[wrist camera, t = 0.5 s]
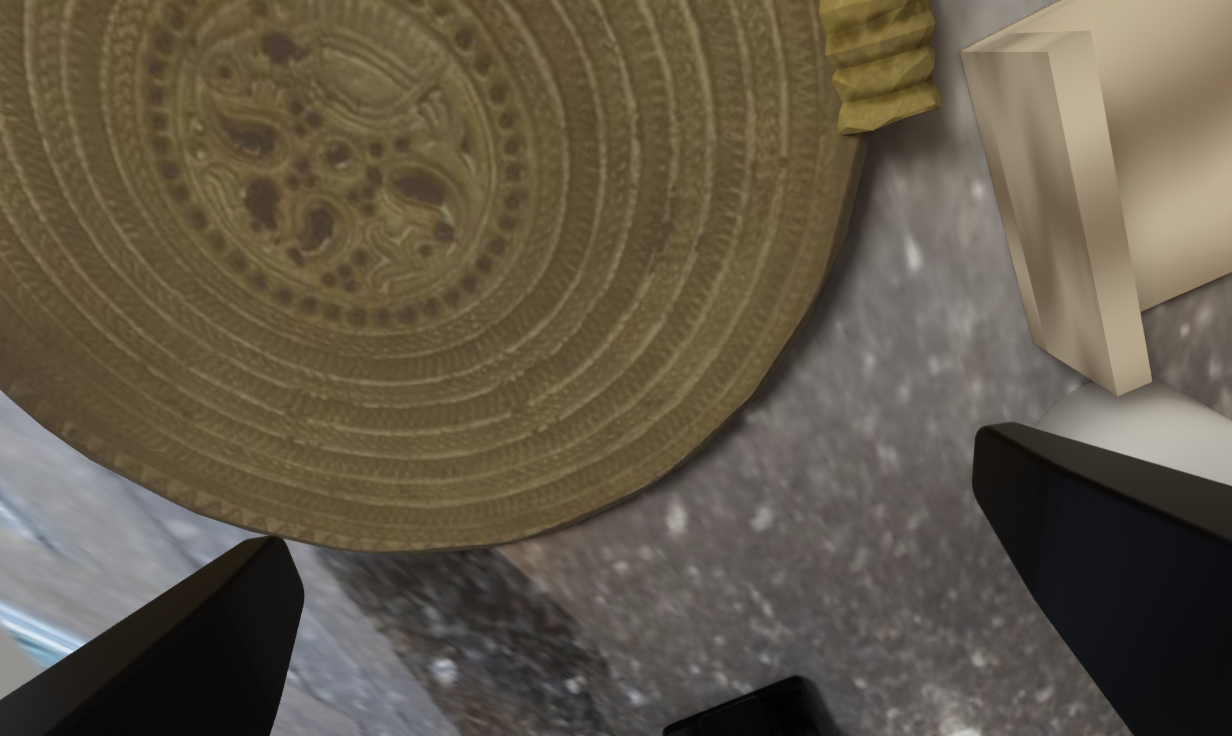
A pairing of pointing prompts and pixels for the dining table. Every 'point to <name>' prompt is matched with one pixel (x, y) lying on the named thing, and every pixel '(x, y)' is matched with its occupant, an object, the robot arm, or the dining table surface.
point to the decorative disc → (424, 242)
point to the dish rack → (1109, 167)
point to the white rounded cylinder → (1148, 427)
